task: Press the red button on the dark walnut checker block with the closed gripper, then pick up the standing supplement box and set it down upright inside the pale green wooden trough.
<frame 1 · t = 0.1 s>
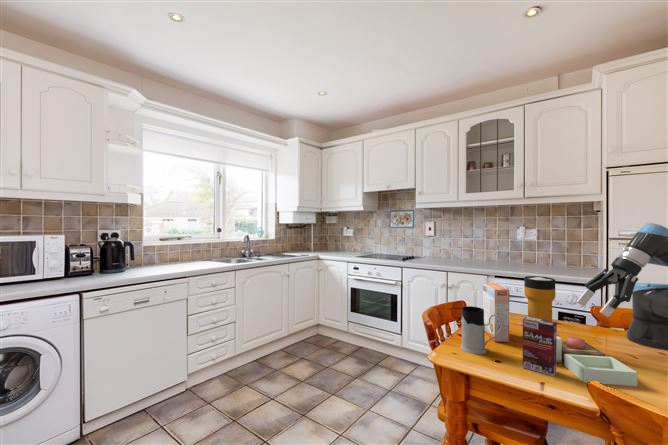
hand: (591, 309, 112), 15 cm above the table, tool tilted 35°, fingers open, 13 cm apart
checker: (575, 358, 106), on the table
cracker box: (495, 336, 128), on the table
supplement box: (539, 370, 98), on the table
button: (575, 343, 106), point 5 cm above the table, slide at 0.3 cm, touching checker
glass holder: (481, 350, 114), on the table
open box: (544, 357, 107), on the table
flashlight: (539, 344, 119), on the table
trough: (598, 375, 95), on the table
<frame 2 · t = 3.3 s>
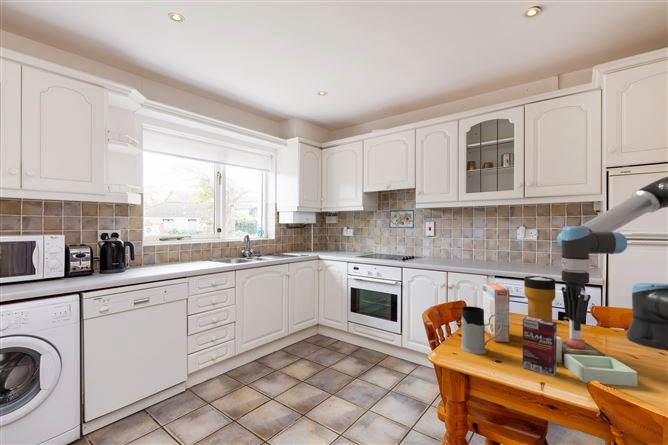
hand: (574, 338, 106), 7 cm above the table, tool pointing down, fingers closed
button: (575, 343, 106), point 5 cm above the table, slide at 0.3 cm, touching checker, gripper
everything else where it was.
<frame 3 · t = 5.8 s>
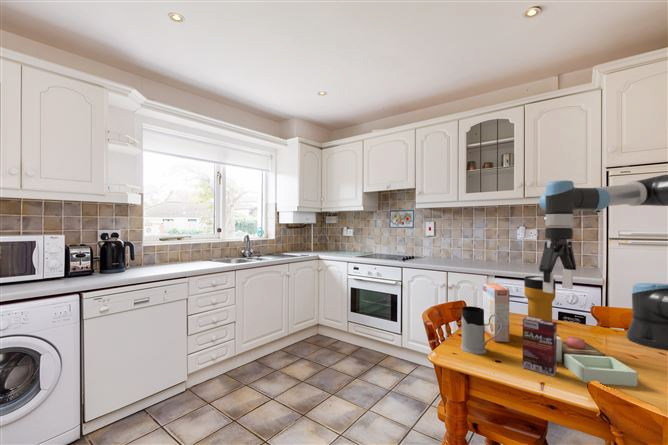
hand: (558, 290, 103), 24 cm above the table, tool pointing down, fingers open, 13 cm apart
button: (575, 343, 106), point 5 cm above the table, slide at 0.3 cm, touching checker
everything else where it was.
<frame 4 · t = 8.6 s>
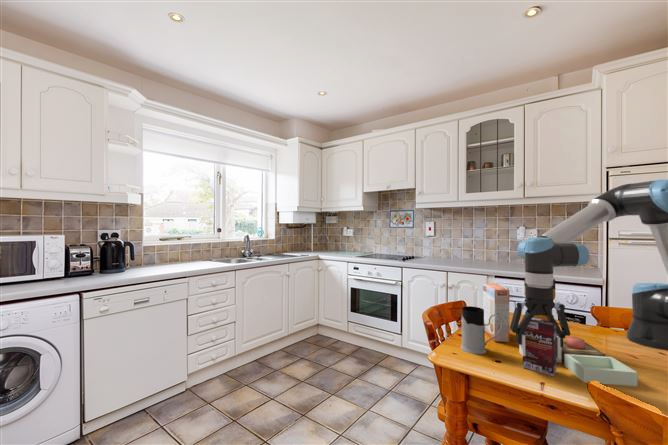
hand: (539, 355, 98), 5 cm above the table, tool pointing down, fingers closed on supplement box, 9 cm apart
supplement box: (539, 370, 98), on the table, touching gripper
everything else where it was.
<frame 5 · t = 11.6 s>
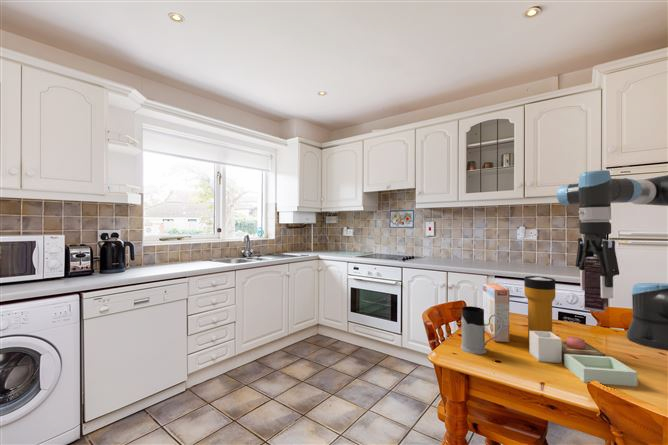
hand: (595, 293, 95), 25 cm above the table, tool pointing down, fingers closed on supplement box, 9 cm apart
supplement box: (596, 309, 95), point 20 cm above the table, touching gripper
everything else where it was.
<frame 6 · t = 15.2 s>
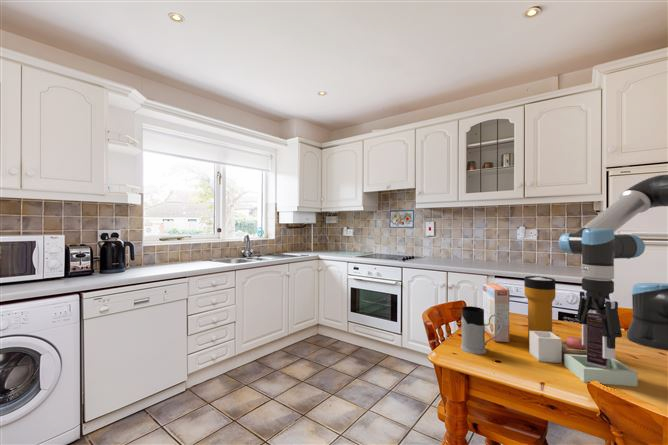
hand: (597, 351, 95), 7 cm above the table, tool pointing down, fingers closed on supplement box, 9 cm apart
supplement box: (598, 363, 95), point 4 cm above the table, touching gripper, trough
everything else where it was.
when the fingers open (7 cm above the table, at t = 15.7 s): supplement box stays where it is, resting on trough.
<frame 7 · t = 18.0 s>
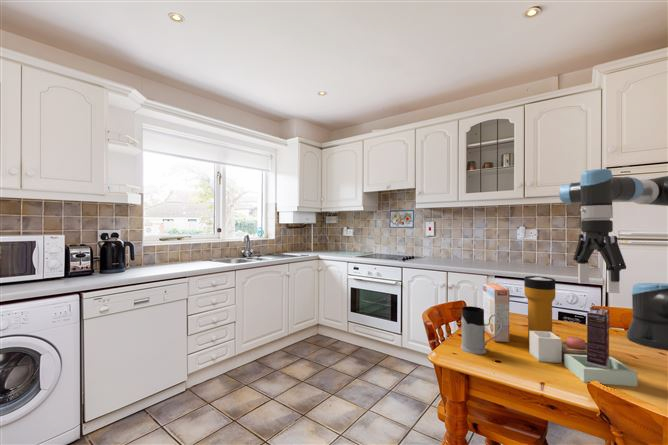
hand: (597, 287, 96), 27 cm above the table, tool pointing down, fingers open, 13 cm apart
supplement box: (598, 363, 95), point 4 cm above the table, touching trough
everything else where it was.
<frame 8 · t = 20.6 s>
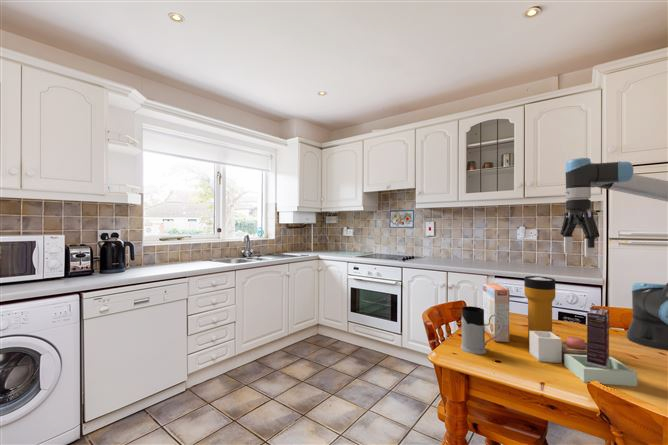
hand: (578, 254, 118), 35 cm above the table, tool pointing down, fingers open, 13 cm apart
nothing on the table moved.
at the end: supplement box inside the target area on the trough (0.0 cm from its centre), point 3.8 cm above the trough's base; supplement box tilted 0°; the gripper is holding nothing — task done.
